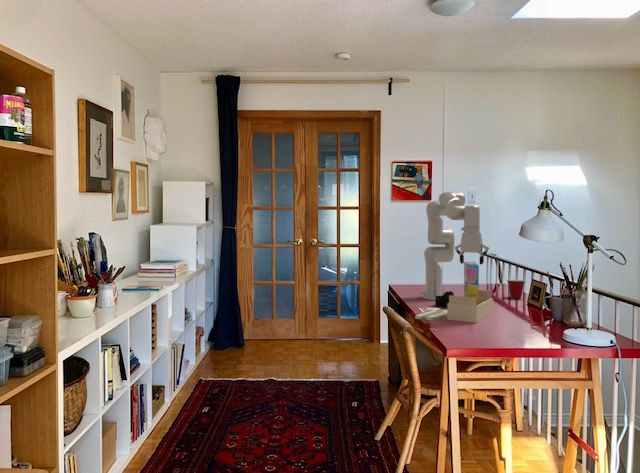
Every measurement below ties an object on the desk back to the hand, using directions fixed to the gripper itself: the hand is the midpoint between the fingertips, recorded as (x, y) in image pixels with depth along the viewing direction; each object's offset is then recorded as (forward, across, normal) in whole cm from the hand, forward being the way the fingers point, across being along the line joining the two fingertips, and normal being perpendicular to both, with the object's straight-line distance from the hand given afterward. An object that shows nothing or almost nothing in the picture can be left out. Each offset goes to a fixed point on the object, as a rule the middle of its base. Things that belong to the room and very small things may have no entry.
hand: (471, 263), depth 261 cm
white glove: (+27, -16, -8) cm, 33 cm away
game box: (+27, 0, 0) cm, 27 cm away
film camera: (+27, -21, +20) cm, 40 cm away
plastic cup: (+27, +7, +70) cm, 76 cm away
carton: (+27, 0, 0) cm, 27 cm away
